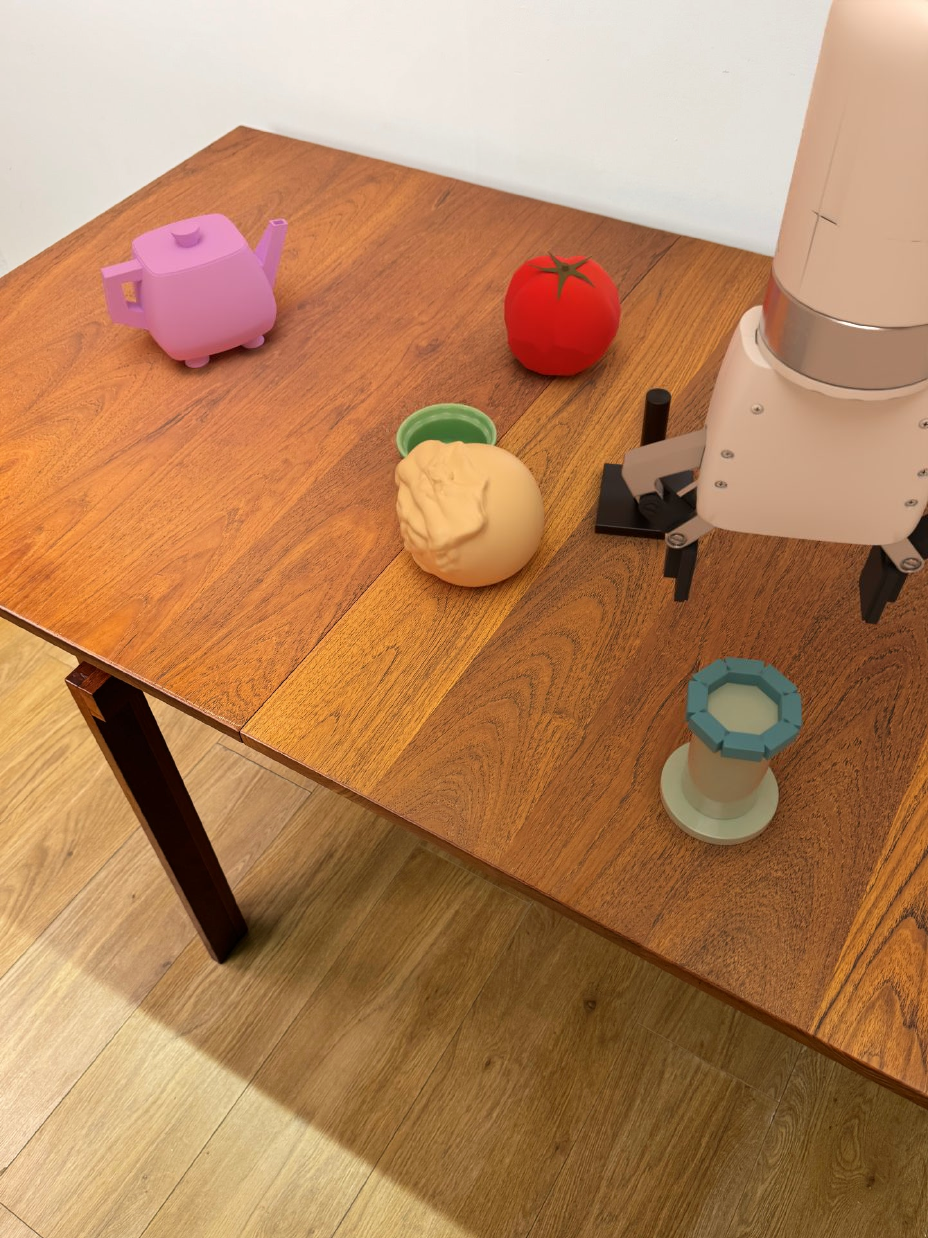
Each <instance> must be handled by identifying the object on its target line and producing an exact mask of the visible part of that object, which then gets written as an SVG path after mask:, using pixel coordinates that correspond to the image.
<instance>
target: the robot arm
mask: <svg viewBox="0 0 928 1238" xmlns="http://www.w3.org/2000/svg"><path fill="white" fill-rule="evenodd" d="M814 69H815V70H814V74H813V78H812V83H811V88H810V92H809V95H808V101H807V105H806V110H805V114H804V120H803V122H802V128H801V133H800V137H799V142H798V146H797V151H796V155H795V160H794V163H793V169H792V173H791V177H790V182H789V187H788V191H787V195H786V200H785V204H784V209H783V213H782V218H781V223H780V227H779V232H778V237H777V241H776V245H775V251H774V255H773V259H772V263H771V267H770V273H769V276H768V281H767V285H766V290H765V293H764V294H765V296H764V299H763V303H762V304H759V305H754V306H753V307H751V308H749V309H748V310H746V311H745V312H744V313H743V314H742V316H741V318H740V320H739V322H738V324H737V326H736V328H735V329H734V332H733V334H732V336H731V339H730V342H729V344H728V346H727V349H726V352H725V354H724V356H723V359H722V362H721V365H720V368H719V371H718V374H717V377H716V381H715V383H714V388H713V391H712V394H711V396H710V397H711V398H710V401H709V405H708V409H707V414H706V417H705V421H704V425H703V428H702V429H699V430H694V431H691V432H687V433H684V434H680V435H677V436H674V437H670V438H666V440H663V441H659V442H656V443H652V444H649V445H645V446H642V447H640V446H639V447H634V448H632V449H629V450H627V451H626V452H625V453H624V454H623V458H622V465H623V466H622V477H623V478H624V480H625V482H626V484H627V486H628V488H629V489H630V491H631V493H632V495H633V497H635V498H636V500H637V502H638V503H639V507H638V508H639V511H640V512H641V513H642V514H643V515H644V516H645V517H646V518H647V519H648V520H649V521H651V522H652V523H653V524H654V525H655V526H656V527H657V528H658V529H659V530H661V531H662V532H663V533H664V534H665V540H664V542H665V544H666V548H665V549H666V551H665V556H664V562H663V563H664V564H663V576H662V577H663V578H667V579H674V593H673V602H674V603H675V602H676V603H684V602H685V601H688V600H689V597H690V592H691V587H692V583H693V578H694V573H695V568H696V565H697V564H696V563H697V558H698V551H699V539H701V538H702V537H704V536H705V535H707V534H708V533H711V532H712V531H714V530H715V529H717V528H719V529H722V530H725V531H729V532H730V531H731V532H737V533H745V534H753V535H762V536H770V537H781V538H789V539H796V540H797V539H799V540H809V541H819V542H829V543H839V544H850V545H851V544H852V545H862V546H863V545H864V546H871V548H870V551H869V553H868V555H867V558H866V560H865V563H864V565H863V568H862V571H861V573H860V575H859V579H858V591H859V603H860V612H861V613H860V615H861V620H862V621H864V622H865V624H868V625H878V623H879V621H880V619H881V617H882V615H883V612H884V610H885V608H886V606H887V603H893V604H895V603H896V601H897V600H898V598H899V595H900V594H901V591H902V589H903V588H904V585H905V583H906V580H907V578H908V577H909V574H914V573H917V572H920V571H921V570H923V568H924V567H925V560H927V559H928V513H926V514H924V512H925V510H926V508H927V505H928V0H832V1H831V4H830V7H829V11H828V15H827V18H826V22H825V25H824V29H823V33H822V37H821V42H820V46H819V51H818V56H817V61H816V65H815V68H814ZM695 469H697V471H698V477H697V479H696V480H693V483H691V484H690V485H688V486H686V487H685V488H683V489H682V490H680V491H679V492H677V493H676V492H675V491H674V490H672V489H671V488H670V487H669V486H668V485H667V484H666V483H665V482H664V481H663V480H662V479H660V478H662V477H665V476H669V475H673V474H677V473H680V472H684V471H688V470H691V471H693V470H695ZM923 514H924V515H923Z"/></svg>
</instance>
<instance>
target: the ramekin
mask: <svg viewBox="0 0 928 1238" xmlns="http://www.w3.org/2000/svg"><path fill="white" fill-rule="evenodd" d="M395 436H396V437H395V445H396V448H397V451H398V453H399V455H400V457H401V460H403V459H404V458H406V457H407V456H408V454H409V453H410V452H411V451H412V450H413V449H414V448H415V447H416V446H417V445H419V444H420V443H422V442H424V441H427V440H439V441H441V442H442V443H445V444H449V443H453V442H456V441H461V442H463V443H464V444H467V443H481V444H488V445H493V446H496V445H497V439H498V431H497V427H496V425H495V423H494V421H493V420H492V419H491V418H490V417H489V415H487V414H486V413H485V412H483V411H482V410H480V409H478V408H476V407H472V406H470V405H466V404H462V403H455V402H454V403H451V402H449V403H436V404H432V405H429V406H425V407H423V408H421V409H418V410H416V411H414V412H413V413H412V414H410V415H408V416H407V417H406V418H405V419H404V421H402V423H401V424H400V426H399V427H398V429H397V432H396V435H395Z"/></svg>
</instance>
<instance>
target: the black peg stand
mask: <svg viewBox="0 0 928 1238" xmlns="http://www.w3.org/2000/svg"><path fill="white" fill-rule="evenodd" d="M671 403H672V394H671V392H670V391H669V390H667V389H665V388H661V387H655V388H651V389H649V390H648V391H647V392H646V394H645V398H644V410H643V416H642V425H641V434H640V442H639V447H642V446H645V445H649V444H652V443H656V442H659V441H663V440H666V439H667V431H668V424H669V419H670V418H669V417H670V411H671ZM622 466H623V463H621V464H620V463H609V462H604V463H603V469H602V476H601V483H600V488H599V489H600V490H599V497H598V505H597V512H596V518H595V524H594V533H595V534H602V535H603V534H604V535H614V536H623V537H624V536H625V537H633V538H634V537H635V538H645V539H657V540H664V541H665V534H664V533H663V532H662V531H661V530H659V529H658V528H657V527H656V526H655V525H654V524H653V523H652V522H651V521H649V520H648V519H647V518H646V517H645V516H644V515H643V514H642V513H641V512H640V511H639V508H638V507H639V503H638V502H637V500H636V498H635V497H633V495H632V493H631V491H630V489H629V488H628V486H627V484H626V482H625V480H624V478H623V477H622ZM694 474H695V471H694V470H688V471H684V472H680V473H677V474H673V475H669V476H665V477H662V478H660V479H662V480H663V481H664V482H665V483H666V484H667V485H668V486H669V487H670V488H671V489H672V490H674V491H675V492H676V493H677V492H679V491H680V490H682V489H683V488H685V487H686V486H688V485H690V484H691V483H693V482H694Z"/></svg>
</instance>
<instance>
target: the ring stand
mask: <svg viewBox="0 0 928 1238" xmlns="http://www.w3.org/2000/svg"><path fill="white" fill-rule="evenodd" d="M707 711H708V712H709V713H710V714H711V715H712V716H713V717H714V718H715V719H716V720H718V721H719V722H720V723H721V724H722V725H723V726H724V727H725V728H726V729H727V730H728V731H734V732H742V733H750V734H758V735H760V734H762V733H763V732H765V731H766V730H768V729H769V728H770V727H772V726H773V725H775V724H776V723H778V705H777V704H776V703H775V702H774V701H773V700H771V699H770V698H769V697H768V696H767V695H766V694H765V693H764V692H763V691H761V690H760V689H759V688H758V687H757V686H752V685H744V684H735V683H725V684H724V685H722V686H721V687H719V688H718V689H716V690H715V691H713V692H712V693H710V694H709V695H708V706H707ZM691 732H692V731H691ZM720 754H721V750H719V751H718V752H716V753H713V752H712V751H711V750H710V749H709V748H708V747H707V746H706V745H705V744H704V743H703V742H702V741H701V740H700V739H699V738H698V737H697V736H696V735H695V734H694V733H693V732H692V733H691V737H690V741H688V742H686V743H683V744H682V745H680V746H679V747H677V748H676V749H675V750H673V752H672V753H671V754H670V755H669V756H668V758H667V759H666V760H665V763H664V765H663V766H662V771H661V773H660V774H661V775H660V778H659V779H660V780H659V797H660V801H661V804H662V806H663V809H664V811H665V813H666V814H667V816H668V817H669V819H670V820H671V821H672V822H673V823H674V825H676V827H678V828H679V829H680V830H681V831H682V832H684V833H685V834H687V835H689V836H690V837H692V838H694V839H696V840H697V841H701V842H702V843H703V842H704V843H707V844H711V845H716V846H733V845H740V844H744V843H746V842H750V841H751V840H754V839H755V838H757V837H758V836H760V835H761V834H762V833H763V832H765V830H766V829H767V828H768V827H769V826H770V824H771V822H772V821H773V819H774V816H775V813H776V811H777V809H778V804H779V796H780V793H779V786H778V782H777V779H776V777H775V774H774V772H773V771H772V768H771V767H770V765H771V762H772V759H773V757H772V758H771V759H769V760H768V761H767V760H766V759H765V758H764V757H763V758H762V761H761V762H755V761H748V760H740V759H732V758H725V757H721V756H720Z"/></svg>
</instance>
